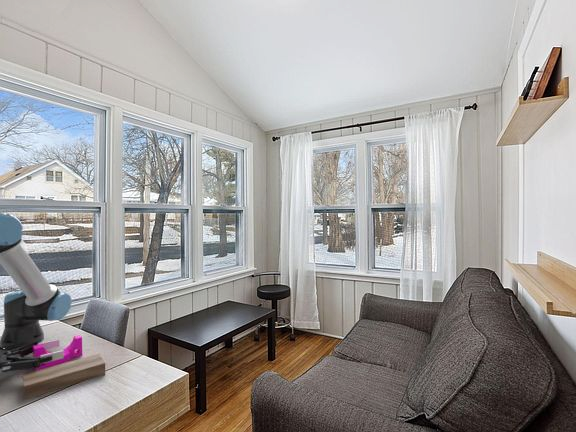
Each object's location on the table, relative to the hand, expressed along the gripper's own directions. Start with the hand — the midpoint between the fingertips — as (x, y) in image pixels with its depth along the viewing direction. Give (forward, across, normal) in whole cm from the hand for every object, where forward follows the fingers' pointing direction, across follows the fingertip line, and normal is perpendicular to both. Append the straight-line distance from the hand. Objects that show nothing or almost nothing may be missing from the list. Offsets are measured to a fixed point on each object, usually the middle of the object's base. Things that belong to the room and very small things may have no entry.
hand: (61, 348), depth 119 cm
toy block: (0, -3, -6) cm, 7 cm away
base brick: (0, +16, -6) cm, 17 cm away
